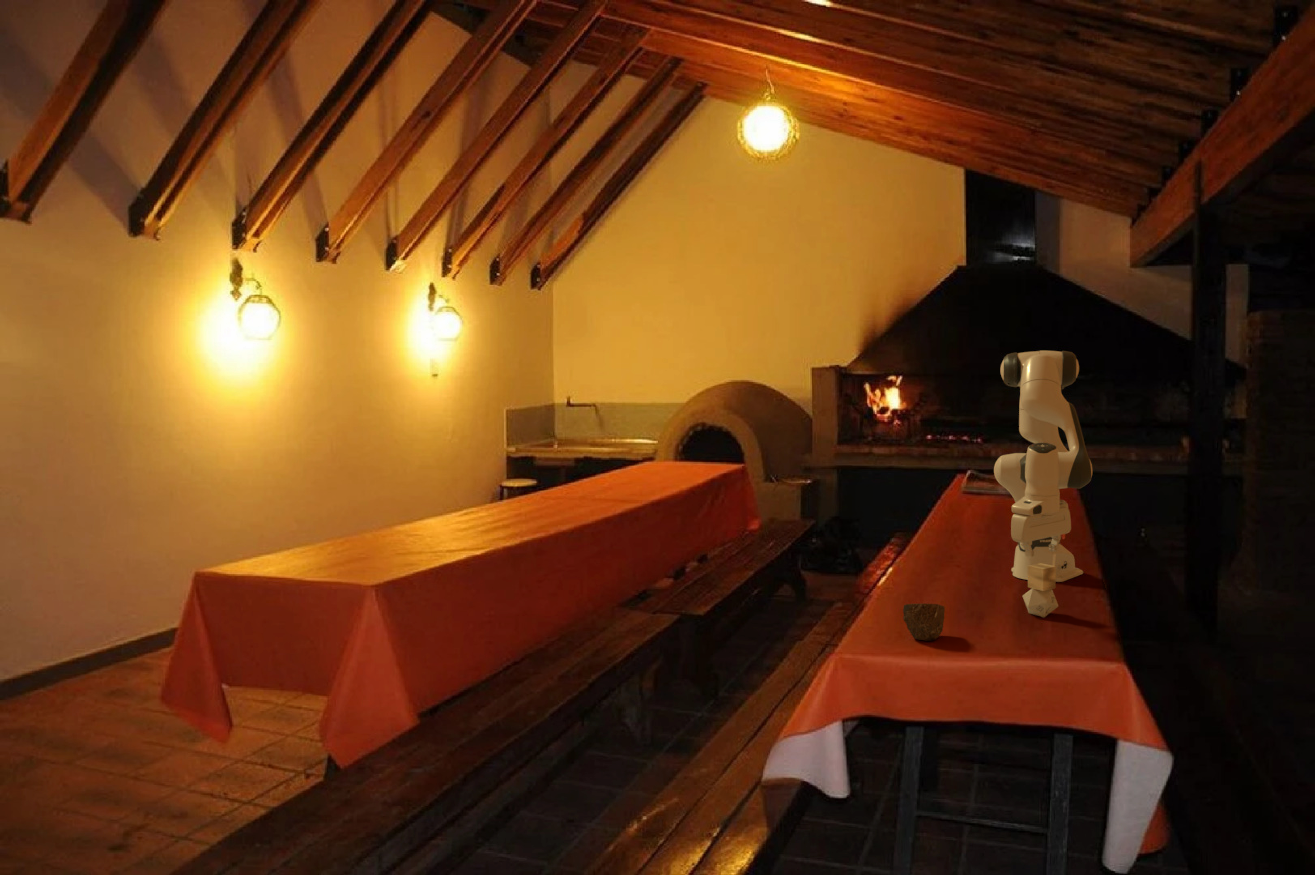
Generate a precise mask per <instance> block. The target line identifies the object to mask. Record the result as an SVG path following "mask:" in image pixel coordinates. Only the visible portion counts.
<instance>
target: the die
mask: <svg viewBox="0 0 1315 875" xmlns="http://www.w3.org/2000/svg"><path fill="white" fill-rule="evenodd" d="M1022 598H1023V601H1024V604H1025V607H1026V609H1027V612H1028V614H1030V615H1033V616H1037V617H1041V618H1046V617H1047V616H1048V615H1049V614H1051V613H1052V612H1054V611H1055V610H1056V609H1057V608H1058V607H1059V604H1058V601H1057V599H1056V596H1055V593H1054V589H1050V590H1045V591H1041V590H1037V589H1033V588H1030V589H1029V590H1028V591H1027V592H1025V593H1024V594H1023V595H1022Z"/></svg>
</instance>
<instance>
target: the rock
mask: <svg viewBox="0 0 1315 875" xmlns="http://www.w3.org/2000/svg"><path fill="white" fill-rule="evenodd" d="M945 609H946V608H945V606H944V605H941V604H937V603H908V604H907V603H906V604H904V605H903V609H902V610H903V611H902V613H903V616H902V620H903V621H904V622H905V625H906V628H907V630H908V631H909V633H910V634H911V636H912V638H913V639H914V640H917V641H919V640H920V641H924V642H925V641H926V642H933V641H935V640H936V639H938V638H939V637H940V636H941V634H942V632H943V630H944V629H943V628H944V622H945V612H946V611H945Z"/></svg>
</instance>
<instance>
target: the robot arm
mask: <svg viewBox="0 0 1315 875" xmlns="http://www.w3.org/2000/svg"><path fill="white" fill-rule="evenodd" d="M1079 372H1080V365H1079V360H1078V359H1077V355H1076V354H1075V353H1073V351H1066V350H1062V351H1057V350H1036V351H1024V352H1011V353H1008V354H1006V355H1005V356H1004V357H1003V360H1002V362H1001V364H1000V375H1001V378H1002V381H1003V383H1004V384H1005V385H1006V386H1008V387H1013V388H1017V387H1019V389H1020V390H1019V392H1020V395H1019V403H1018V404H1019V409H1018V410H1019V411H1018V412H1019V413H1018V414H1019V415H1018V426H1019V427H1018V431H1019V434H1020V435H1021V437H1022V438H1024V439H1025V440H1026V441H1028V442H1030V443H1032V444H1030V445H1028V447H1027V449H1026V450H1027V451H1026V453H1025V452H1015V453H1009V454H1008V453H1007V454H1003V455H1001V456H999V457H998V458H997V460H996V461H995V463H994V466H993V473H994V474H993V475H994V478H995V480H996V481H997V482H998V484H999V485H1001V486H1002V488H1004V489H1006V491H1008V492H1009V494H1010V495H1011V496H1012V498H1013V500H1014V502H1015V503H1013V504H1012V505H1011V512H1012V513H1013V514H1012V516H1011V522H1010V528H1011V529H1010V535H1011V536H1010V537H1011V539H1012V541H1014V542H1016V543H1017V545H1016V547H1015V551H1014V559H1013V567H1011V572H1012V576H1013V577H1015V578H1018V579H1022V580H1027V581H1028V566H1029V565H1034V564H1039V563H1042V564H1046V565H1051V566H1055V567H1056V581H1055V583H1056V582H1057V583H1060V582H1061V583H1063V582H1065V581H1068V580H1070V579H1073V578H1076V577H1078V576H1080V575H1083V574H1084V570H1082V569H1080V568H1078V567H1076V564H1075V563H1076V560H1075V557H1074V554H1072V552H1070V551H1069V550H1068V549H1067V548H1066V547H1064V546H1063V545H1062V544H1061V540H1065V538H1066V534H1068V533H1070V532H1071V530H1072V521H1071V520H1072V519H1071V518H1072V517H1071V512H1070V511H1071V510H1070V509H1069V503H1067V501H1065V500H1064V499H1061V498H1060V497H1061V495H1060V494H1061V493H1060V490H1062V489H1069V488H1070V489H1079V490H1080V489H1082V488H1083V487H1086V485H1088V484H1089V483H1090V482H1091V481H1092V478H1093V477H1092V476H1093V464H1092V462H1091V459H1090V456H1089V454H1088V451H1087V450H1088V449H1087V448H1086V445H1085V444H1086V443H1085V440H1084V435H1083V431H1082V427H1081V424H1080V420H1079V417H1078V413H1077V409H1076V408H1075V405H1074V404H1072V403H1071V402H1070V401H1067V399H1066V398H1065V397H1064V395H1063V394H1062V390H1064V389H1065V388H1066V387H1068V386H1071V385H1072V384H1073V383H1074V382H1076V379H1077V378H1078V377H1079V376H1078V375H1079ZM1059 428H1060V429H1061V430H1062V431H1063V432H1064V434H1065V437H1066V440H1067V441H1066V442H1067V445H1068V446H1067V447H1068V449H1067V448H1066V446H1065V445H1064V443H1063V441H1062V440H1061V437H1060V433H1059Z"/></svg>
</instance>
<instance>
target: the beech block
mask: <svg viewBox="0 0 1315 875" xmlns="http://www.w3.org/2000/svg"><path fill="white" fill-rule="evenodd" d="M1055 581H1056V567H1055V566H1051V565H1046V564H1042V563H1039V564H1034V565H1029V566H1028V580H1027V588H1030V589H1032V588H1033V589H1037V590H1041V591H1045V590H1050V589H1052V590H1054V589H1056V582H1055Z"/></svg>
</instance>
